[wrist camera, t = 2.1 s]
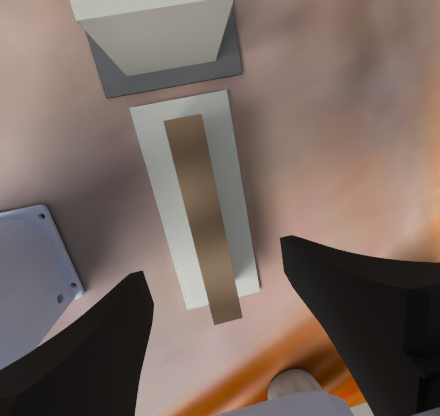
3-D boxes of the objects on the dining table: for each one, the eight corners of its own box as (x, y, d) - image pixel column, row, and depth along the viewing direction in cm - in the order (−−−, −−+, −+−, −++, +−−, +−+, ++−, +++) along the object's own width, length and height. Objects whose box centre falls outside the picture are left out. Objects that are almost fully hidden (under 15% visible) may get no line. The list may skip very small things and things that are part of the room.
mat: (241, 74, 18) (242, 73, 18) (107, 98, 18) (106, 98, 17) (215, -105, 15) (216, -110, 15) (50, -85, 14) (47, -89, 14)
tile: (215, 60, 18) (234, -4, 10) (127, 76, 17) (76, 20, 9) (211, 37, 17) (228, -50, 9) (120, 52, 17) (61, -27, 9)
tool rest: (258, 289, 24) (260, 291, 24) (187, 307, 24) (187, 310, 23) (226, 90, 19) (226, 89, 18) (130, 108, 18) (129, 107, 18)
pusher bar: (231, 282, 23) (242, 317, 18) (209, 287, 23) (214, 325, 18) (198, 121, 19) (201, 113, 14) (170, 127, 18) (163, 120, 14)
